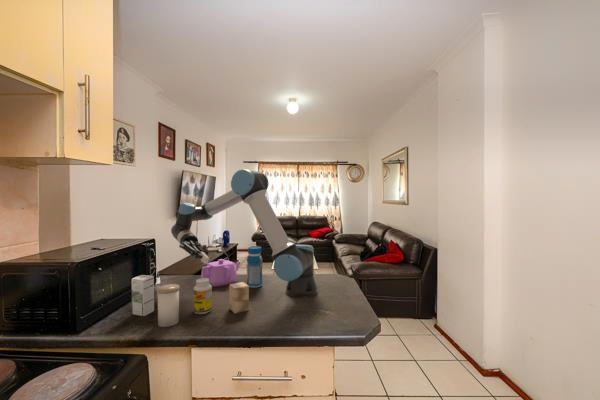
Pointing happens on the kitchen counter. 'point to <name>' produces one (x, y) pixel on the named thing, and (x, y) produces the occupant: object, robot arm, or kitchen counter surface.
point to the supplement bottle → (202, 296)
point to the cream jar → (168, 305)
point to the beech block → (239, 297)
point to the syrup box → (142, 295)
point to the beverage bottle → (254, 267)
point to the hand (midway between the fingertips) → (206, 260)
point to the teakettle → (220, 272)
